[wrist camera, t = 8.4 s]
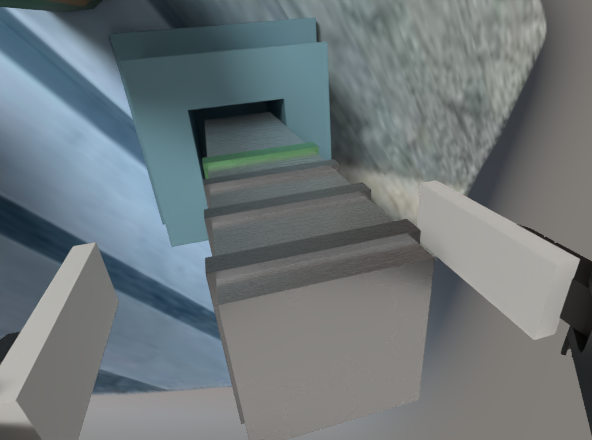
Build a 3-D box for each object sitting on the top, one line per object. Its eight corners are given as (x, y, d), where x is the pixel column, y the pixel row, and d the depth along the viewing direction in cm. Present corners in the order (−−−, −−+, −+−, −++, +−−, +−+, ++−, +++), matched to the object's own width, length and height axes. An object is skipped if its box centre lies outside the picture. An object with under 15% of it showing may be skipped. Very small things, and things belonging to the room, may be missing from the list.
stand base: (163, 221, 38) (131, 374, 20) (111, 34, 30) (-20, 12, 12) (322, 193, 42) (416, 305, 24) (313, 18, 34) (446, -19, 15)
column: (214, 185, 29) (244, 455, 10) (201, 117, 26) (206, 299, 7) (279, 175, 30) (423, 402, 11) (272, 108, 27) (443, 248, 8)
